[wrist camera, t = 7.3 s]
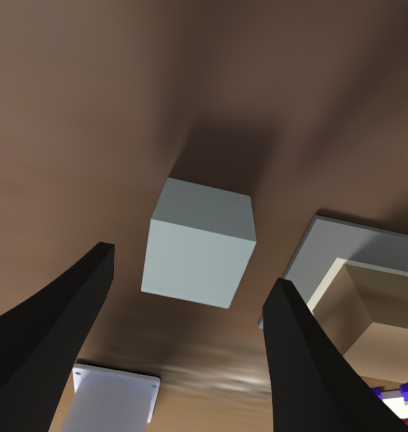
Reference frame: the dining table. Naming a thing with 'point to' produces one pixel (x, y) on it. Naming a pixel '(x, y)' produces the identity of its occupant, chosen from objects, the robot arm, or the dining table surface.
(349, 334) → the walnut block
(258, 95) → the dining table surface
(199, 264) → the pale grey cube
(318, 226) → the grey flat square plate
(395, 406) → the building block set
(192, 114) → the dining table surface
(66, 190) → the dining table surface
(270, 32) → the dining table surface
